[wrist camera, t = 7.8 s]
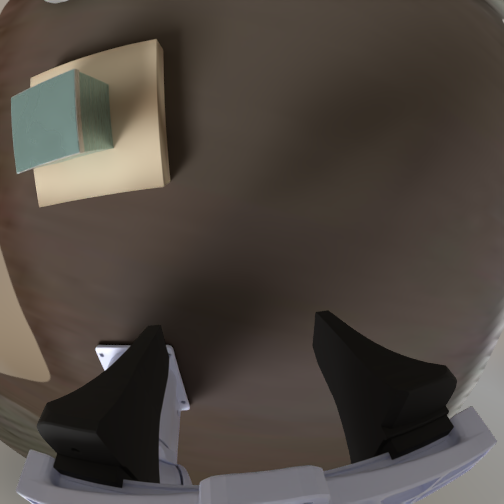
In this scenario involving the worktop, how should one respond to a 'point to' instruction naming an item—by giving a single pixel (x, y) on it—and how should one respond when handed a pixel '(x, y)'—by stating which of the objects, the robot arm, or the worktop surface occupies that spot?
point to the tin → (60, 120)
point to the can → (55, 1)
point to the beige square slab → (116, 128)
